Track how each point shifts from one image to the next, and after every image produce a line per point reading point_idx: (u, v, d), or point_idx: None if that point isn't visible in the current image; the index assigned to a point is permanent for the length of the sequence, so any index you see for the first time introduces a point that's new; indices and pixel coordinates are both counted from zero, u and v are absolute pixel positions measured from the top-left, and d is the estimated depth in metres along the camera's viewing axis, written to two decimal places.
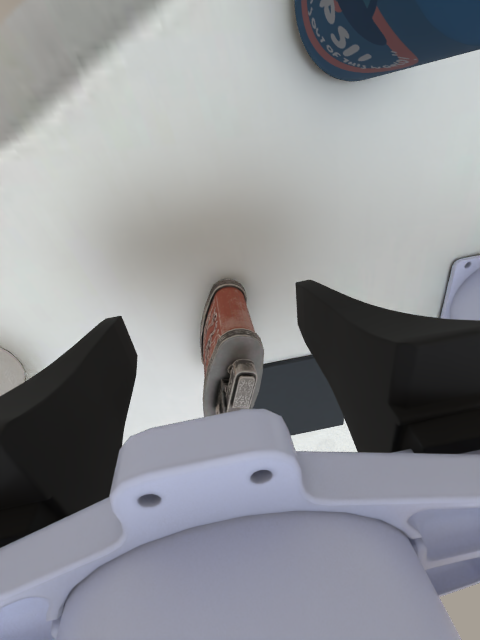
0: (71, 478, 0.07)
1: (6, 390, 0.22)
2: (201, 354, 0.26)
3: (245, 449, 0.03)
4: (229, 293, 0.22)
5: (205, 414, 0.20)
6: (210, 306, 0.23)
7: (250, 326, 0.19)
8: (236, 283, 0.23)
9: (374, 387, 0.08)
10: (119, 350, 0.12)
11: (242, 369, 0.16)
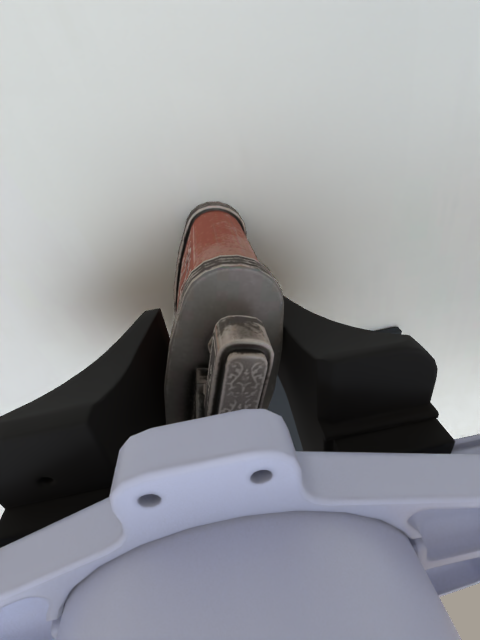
0: None
1: None
2: None
3: (245, 449, 0.03)
4: (214, 216, 0.12)
5: None
6: (185, 247, 0.14)
7: (253, 258, 0.09)
8: (228, 206, 0.14)
9: (309, 400, 0.07)
10: (161, 342, 0.12)
11: (235, 337, 0.06)
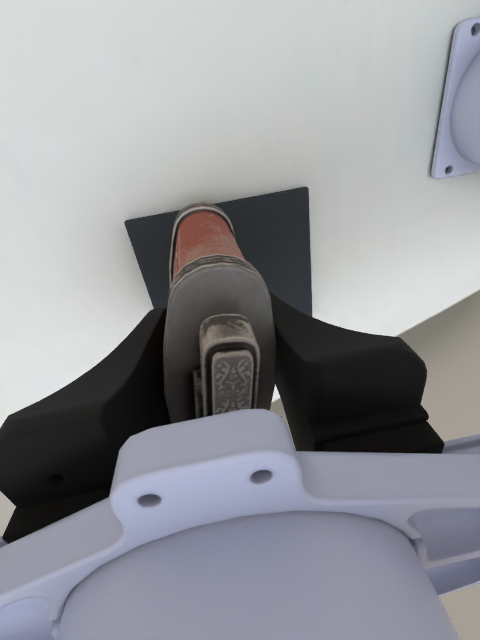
0: None
1: None
2: None
3: (245, 449, 0.03)
4: (198, 218, 0.12)
5: None
6: (175, 252, 0.14)
7: (237, 255, 0.09)
8: (212, 206, 0.14)
9: (300, 403, 0.07)
10: None
11: (218, 336, 0.06)
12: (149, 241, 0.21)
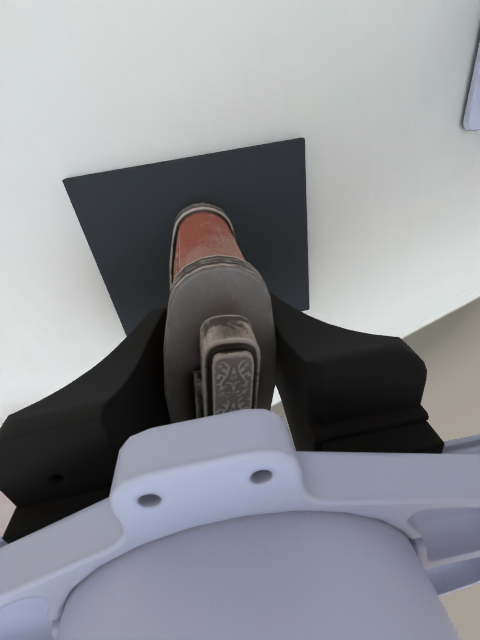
0: None
1: None
2: None
3: (245, 449, 0.03)
4: (198, 218, 0.12)
5: None
6: (175, 253, 0.14)
7: (237, 256, 0.09)
8: (212, 206, 0.14)
9: (299, 403, 0.07)
10: None
11: (218, 337, 0.06)
12: (97, 207, 0.16)
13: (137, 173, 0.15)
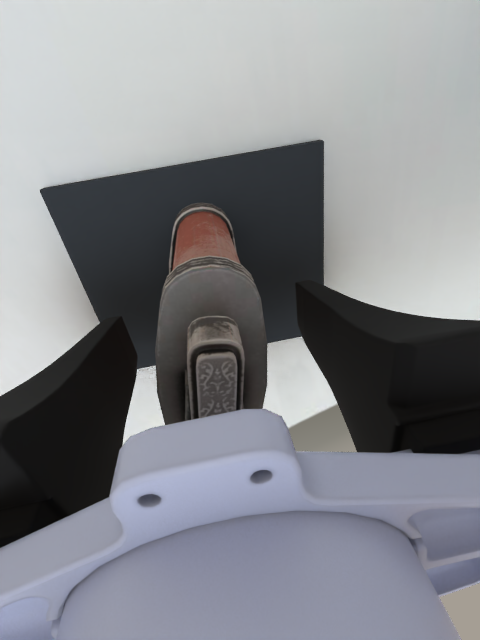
0: (72, 478, 0.07)
1: None
2: None
3: (245, 449, 0.03)
4: (197, 218, 0.12)
5: None
6: (174, 252, 0.14)
7: (230, 256, 0.09)
8: (212, 206, 0.14)
9: (374, 387, 0.08)
10: (120, 350, 0.12)
11: (203, 338, 0.06)
12: (82, 221, 0.14)
13: (128, 182, 0.13)
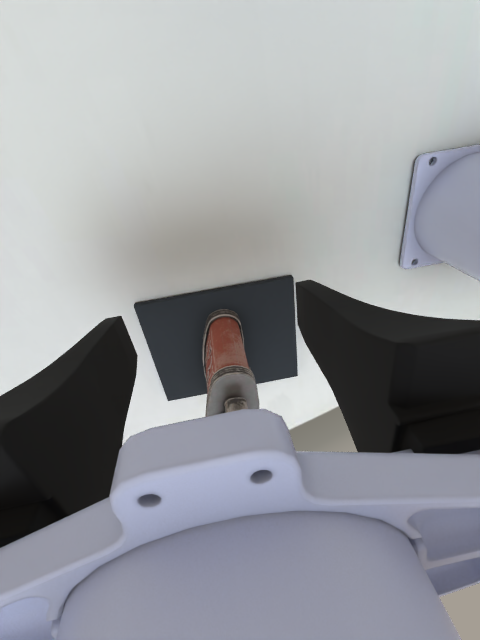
0: (71, 478, 0.07)
1: None
2: (207, 381, 0.27)
3: (245, 449, 0.03)
4: (222, 325, 0.23)
5: None
6: (207, 337, 0.24)
7: (242, 360, 0.20)
8: (229, 312, 0.24)
9: (374, 387, 0.08)
10: (119, 350, 0.12)
11: (233, 409, 0.17)
12: (155, 320, 0.24)
13: (182, 300, 0.23)
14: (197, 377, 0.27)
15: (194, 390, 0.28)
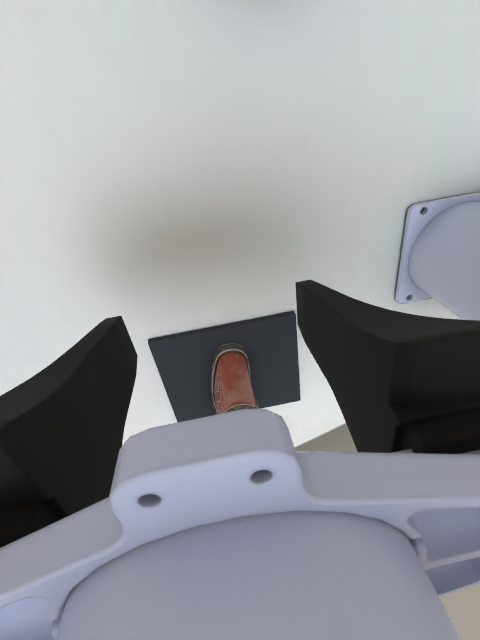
0: (71, 478, 0.07)
1: None
2: (215, 408, 0.29)
3: (245, 449, 0.03)
4: (230, 360, 0.24)
5: None
6: (216, 370, 0.26)
7: (249, 397, 0.21)
8: (236, 346, 0.26)
9: (374, 387, 0.08)
10: (119, 350, 0.12)
11: None
12: (167, 354, 0.26)
13: (193, 337, 0.25)
14: (206, 403, 0.29)
15: (203, 415, 0.30)
